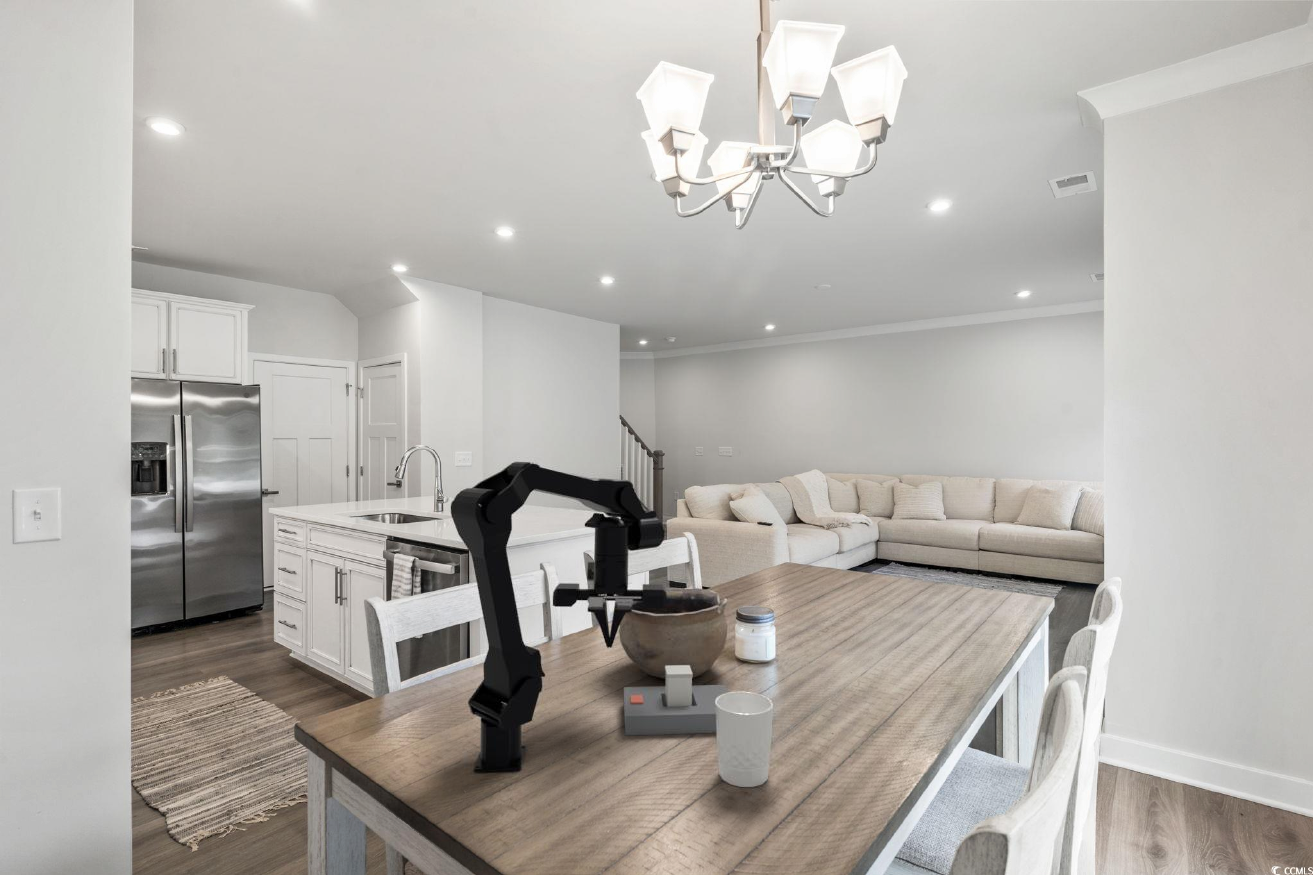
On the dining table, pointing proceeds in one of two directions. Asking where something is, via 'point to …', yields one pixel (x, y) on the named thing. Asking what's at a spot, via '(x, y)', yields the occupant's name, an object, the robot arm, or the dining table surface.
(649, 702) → the socket
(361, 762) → the dining table surface
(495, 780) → the dining table surface
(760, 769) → the white cup
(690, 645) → the ceramic bowl
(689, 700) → the plug
